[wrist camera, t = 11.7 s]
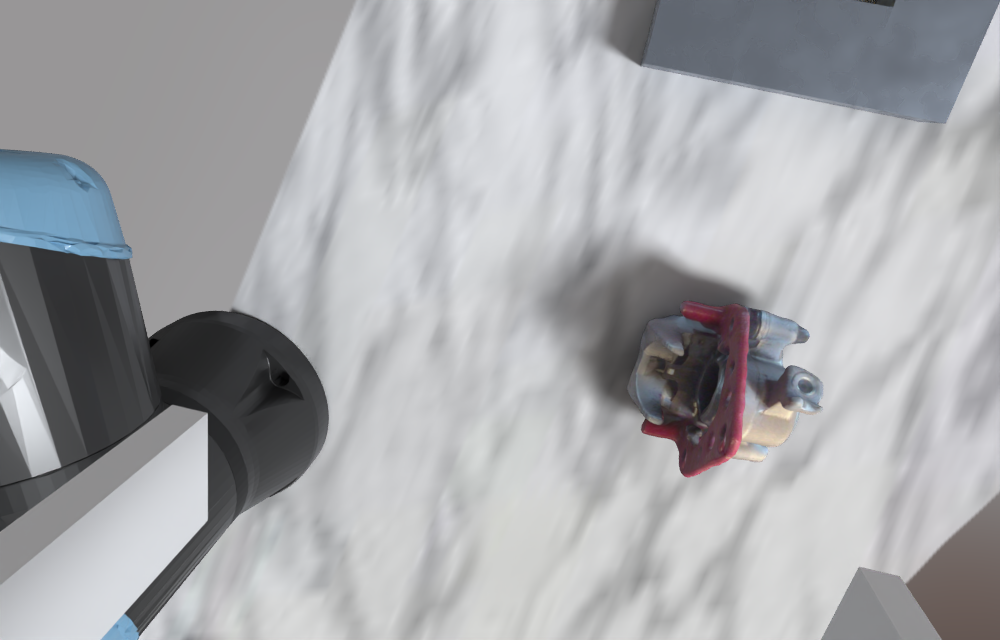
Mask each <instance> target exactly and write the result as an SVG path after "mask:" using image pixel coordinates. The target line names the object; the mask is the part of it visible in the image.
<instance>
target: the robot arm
mask: <svg viewBox="0 0 1000 640" xmlns="http://www.w3.org/2000/svg"><path fill="white" fill-rule="evenodd" d="M129 258H132V249H131V247H129V246H128V245H127V244H125V240H124V237H123V234H122V231H121V227H120V224H119V220H118V217H117V214H116V210H115V207H114V204H113V201H112V197H111V194H110V191H109V188H108V186H107V184H106V183H105V181H104V179H103V178H102V177H101V175H100V174H98V172H97V171H95V170H94V169H93V168H92V167H90V166H89V165H87V164H86V163H84V162H82V161H80V160H78V159H75V158H72V157H69V156H65V155H59V154H52V153H42V152H31V151H30V152H29V151H18V150H4V149H0V640H138V639H139V636H140V635H141V634H142V632H143V631H144V630H145V629H146V628H147V626H148V625H149V624H150V623H151V621H152V620H153V619H154V618H155V617H156V615H157V614H158V613H159V612H160V610H161V609H162V608H163V607H164V605H165V604H166V603H167V602H168V601H169V599H170V598H171V597H172V596H173V594H174V593H175V592H176V591H177V590H178V588H179V587H180V586H181V585H182V583H183V582H184V581H185V580H186V578H187V577H188V576H189V575H190V574H191V572H192V571H193V570H194V569H195V567H196V566H197V565H198V564H199V563H200V561H201V560H202V559H203V558H204V556H205V555H206V554H207V553H208V552H209V550H210V549H211V548H212V547H213V545H214V544H215V543H216V542H217V540H218V539H219V538H220V537H221V536H222V534H223V533H224V532H225V530H226V529H227V528H228V527H229V526H230V524H231V523H232V522H233V521H234V520H235V519H236V517H237V516H238V515H239V514H241V513H243V512H244V511H246V510H248V509H249V508H251V507H253V506H254V505H256V504H258V503H259V502H261V501H263V500H264V499H266V498H268V497H271V496H273V495H275V494H277V493H279V492H281V491H283V490H285V489H286V488H288V487H289V486H291V485H292V484H293V483H294V482H296V481H297V480H298V479H299V478H300V477H301V476H302V475H303V474H304V472H305V471H306V470H307V469H308V467H309V466H310V465H311V463H312V462H313V461H314V460H315V458H316V457H317V455H318V454H319V452H320V450H321V449H322V447H323V444H324V442H325V439H326V435H327V430H328V421H329V415H328V405H327V399H326V396H325V392H324V389H323V386H322V384H321V381H320V379H319V377H318V375H317V373H316V372H315V370H314V368H313V367H312V365H311V364H310V362H309V361H308V359H307V358H306V357H305V356H304V354H303V353H302V352H301V351H300V350H299V349H298V348H297V347H296V346H295V345H294V344H293V343H292V342H291V341H290V340H289V339H288V338H286V337H285V336H284V335H282V334H281V333H280V332H278V331H277V330H275V329H274V328H272V327H270V326H269V325H267V324H265V323H263V322H261V321H259V320H256V319H254V318H251V317H248V316H245V315H242V314H238V313H233V312H226V311H206V312H199V313H195V314H191V315H188V316H186V317H183V318H181V319H179V320H177V321H175V322H173V323H172V324H170V325H168V326H166V327H164V328H162V329H161V330H159V331H157V332H156V333H155V334H153V335H152V336H151V337H150V338H148V337H147V332H146V328H145V324H144V320H143V316H142V311H141V307H140V303H139V298H138V294H137V290H136V286H135V282H134V277H133V273H132V269H131V265H130V260H129ZM821 640H942V639H941V638H940V636H939V635H938V633H937V632H936V630H935V629H934V627H933V626H932V624H931V623H930V621H929V620H928V618H927V617H926V615H925V614H924V612H923V611H922V609H921V608H920V606H919V605H918V603H917V602H916V600H915V599H914V597H913V595H912V594H911V593H910V591H909V589H908V588H907V586H906V585H905V583H904V582H903V580H902V579H901V577H900V576H896V575H892V574H887V573H883V572H879V571H875V570H870V569H866V568H862V567H859V568H858V570H857V572H856V574H855V576H854V578H853V579H852V581H851V583H850V585H849V587H848V589H847V591H846V593H845V595H844V597H843V599H842V601H841V602H840V604H839V606H838V608H837V610H836V612H835V614H834V616H833V618H832V620H831V622H830V624H829V625H828V627H827V629H826V631H825V633H824V635H823V637H822V639H821Z"/></svg>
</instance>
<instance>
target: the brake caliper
mask: <svg viewBox="0 0 1000 640" xmlns="http://www.w3.org/2000/svg"><path fill="white" fill-rule="evenodd" d="M680 312H681V313H682V315H684V316H677V315H671V316H668V317H666V318H663V319H652V320H651V321H649V322H648V323H647V325H646V328H645V331H644V333H643V336H642V339H641V345H640V351H639V355H638V359H637V362H636V364H635V367H634V369H633V371H632V374H631V377H630V379H629V382H628V386H627V390H628V392H629V394H630V396H631V398H632V399H633V401H634V403H635V404H636V405H637V406H638V408H639V409H640V411H641V413H642V414H643V416H644V417H645V420H644V422H643V424H642V428H641V431H642V432H643V433H644V434H647V435H651V436H656V437H661V438H667V439H671V440H673V441H675V443H676V445H677V447H678V450H679V467H680V471H681V473H682V474H683V475H684V476H685V477H691V476H695V475H698V474H700V473H701V472H703V471H706V470H708V469H709V468H710V467H713V466H717V465H720V464H721V463H724V462H726V461H728V460H729V459H731V458H733V459H741V460H748V461H752V462H762V461H763V460H764V459H765V458H766V457H767V454H768V449H767V447H776V446H779V445H781V444H783V443H784V442H785V441H786V440H787V439H788V438H789V436H790V435H791V434H792V432H793V431H794V429H795V427H796V425H797V422H798V419H799V414H800V412H801V413H805V414H809V415H815V414H817V413H820V412H822V411H823V409H822V407H821V406H819V405H818V403H819V401H820V400H821V398H822V397H823V383H822V382H821V381H820V379H819V378H817V377H816V376H814V375H813V374H812V373H810V372H808V371H807V370H805V369H802V368H799V367H797V366H793V365H791V366H788V367H787V368H786V369H785V368H784V367H783V363H782V359H783V350H782V349H783V348H784V347H785V346H787V345H790V344H796V343H805V342H806V341H807V340H808V339H809V332H808V331H807V330H806V329H804V328H802V327H800V326H799V325H798V324H797V323H796V322H794V321H792V320H790V319H786V318H782V317H779V316H776V315H774V314H771V313H769V312H766V311H763V310H757V309H752V308H748V307H745V306H742V305H739V304H730V305H726V306H721V307H714V306H708V305H704V304H701V303H697V302H692V301H684V302H682V303H681V305H680ZM766 446H767V447H766Z"/></svg>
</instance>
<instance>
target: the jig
mask: <svg viewBox="0 0 1000 640" xmlns="http://www.w3.org/2000/svg"><path fill="white" fill-rule="evenodd" d="M999 2H1000V0H876V2H875V4H872V3H867V2H861V1H856V0H657V4H656V7H655V11H654V15H653V19H652V23H651V27H650V31H649V35H648V39H647V43H646V47H645V51H644V54H643V58H642V62H641V66H643V67H648V68H653V69H658V70H663V71H668V72H673V73H678V74H683V75H688V76H693V77H698V78H703V79H708V80H713V81H718V82H723V83H728V84H733V85H738V86H743V87H748V88H753V89H758V90H763V91H768V92H773V93H778V94H783V95H788V96H793V97H798V98H803V99H808V100H813V101H818V102H823V103H828V104H833V105H838V106H843V107H848V108H853V109H858V110H864V111H869V112H874V113H879V114H884V115H889V116H894V117H899V118H904V119H909V120H914V121H919V122H930V123H946V121H947V119H948V117H949V115H950V112H951V110H952V108H953V106H954V103H955V101H956V99H957V97H958V94H959V92H960V90H961V88H962V85H963V83H964V81H965V79H966V76H967V74H968V72H969V70H970V68H971V65H972V63H973V61H974V59H975V56H976V54H977V52H978V50H979V47H980V45H981V43H982V41H983V38H984V36H985V34H986V32H987V29H988V27H989V25H990V23H991V20H992V18H993V16H994V14H995V11H996V9H997V7H998V5H999Z"/></svg>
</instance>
